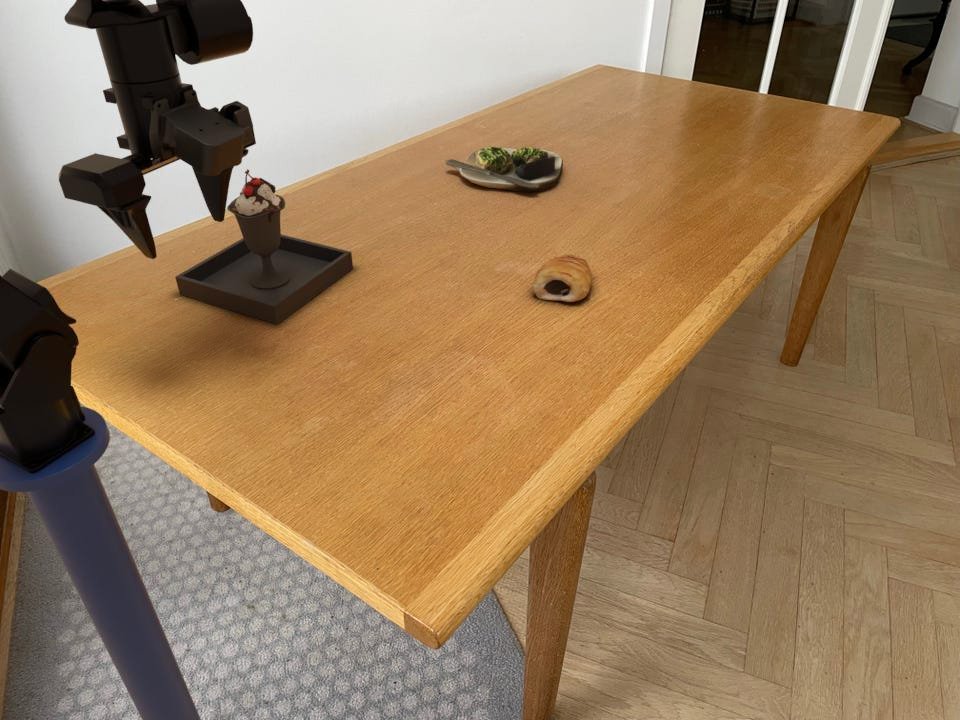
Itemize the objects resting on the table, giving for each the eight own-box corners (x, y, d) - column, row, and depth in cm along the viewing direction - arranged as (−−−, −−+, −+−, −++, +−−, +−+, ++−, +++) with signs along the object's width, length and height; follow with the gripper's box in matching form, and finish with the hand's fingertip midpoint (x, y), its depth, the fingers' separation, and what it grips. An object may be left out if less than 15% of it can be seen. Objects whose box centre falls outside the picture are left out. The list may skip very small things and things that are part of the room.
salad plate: (433, 189, 116) (432, 161, 114) (459, 152, 131) (458, 126, 128) (552, 200, 113) (554, 171, 110) (566, 160, 127) (568, 134, 125)
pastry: (548, 265, 95) (550, 238, 93) (599, 273, 94) (602, 246, 91) (529, 299, 88) (531, 271, 86) (583, 309, 86) (586, 280, 84)
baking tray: (277, 324, 83) (273, 306, 82) (179, 294, 89) (174, 276, 87) (353, 268, 94) (351, 251, 93) (262, 245, 100) (259, 228, 99)
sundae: (259, 298, 87) (235, 179, 78) (233, 278, 91) (208, 162, 83) (307, 280, 91) (289, 164, 82) (280, 262, 95) (260, 149, 86)
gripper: (127, 117, 53) (178, 299, 63) (286, 61, 67) (309, 217, 76) (25, 98, 57) (87, 272, 66) (195, 50, 71) (227, 199, 80)
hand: (186, 238), depth 72 cm, fingers open, 9 cm apart
